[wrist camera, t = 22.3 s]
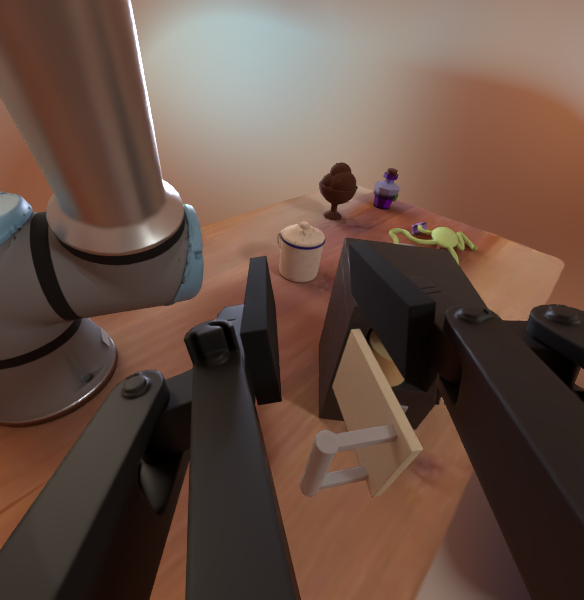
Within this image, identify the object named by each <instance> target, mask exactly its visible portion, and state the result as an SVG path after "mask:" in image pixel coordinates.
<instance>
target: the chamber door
mask: <svg viewBox="0 0 584 600" xmlns="http://www.w3.org/2000/svg"><path fill="white" fill-rule="evenodd" d="M332 388H333V390H334V393H335V396H336V399H337V401H338V404H339V407H340V410H341V413H342V415H343V418H344V421H345V424H346V427H347V429H348V432H345V433H339V434H334V433H333V432H331V431H329V430H323V431H320V432H319V433H318V434H317V436H316V438H315V441H314V444H313V447H312V450H311V453H310V456H309V459H308V462H307V465H306V468H305V471H304V474H303V477H302V480H301V483H300V488H301V491H302V493H303V494H304V495H306V496H308V497H313V496H315V495H316V494H317V492H318V490H321V489H326V488H331V487H335V486H340V485H344V484H349V483H353V482H358V481H363V480H366V482H367V485H368V488H369V491H370V493H371V496H372V498H374V497H378V496H381V495H382V494H383V493H384V492H385V491H386V490H387V488H388V487H389V486H390V485H391V484H392V483H393V482H394V481H395V480H396V479H397V477H398V476H399V475H400V474H401V473H402V472H403V471H404V470H405V469H406V468H407V466H408V465H409V464H410V463H411V462H412V461H413V460H414V459H415V458H416V457H417V456H418V454H419V453H420V452H421V451H422V450H423V448H422V446H421V444H420V442H419V440H418V438H417V436H416V434H415V432H414V430H413V429H412V427H411V425H410V423H409V421H408V419H407V417H406V415H405V413H404V412H403V410H402V408H401V406H400V404H399V402H398V400H397V398H396V396H395V395H394V393H393V391H392V389H391V387H390V385H389V383H388V381H387V379H386V377H385V376H384V374H383V372H382V370H381V368H380V366H379V364H378V362H377V360H376V359H375V357H374V355H373V353H372V351H371V349H370V347H369V345H368V343H367V342H366V340H365V338H364V336H363V334H362V332H361V330H360V329H352V330H351V332H350V335H349V338H348V341H347V344H346V347H345V350H344V353H343V356H342V359H341V362H340V365H339V368H338V371H337V374H336V377H335V380H334V383H333V386H332ZM351 449H355V452H356V454H357V457H358V460H359V463H360V466H359V467H354V468H349V469H345V470H340V471H335V472H330V473H327V471H328V469H329V467H330V465H331V463H332V461H333V458H334V456H335V454H336V452H341V451H346V450H351Z"/></svg>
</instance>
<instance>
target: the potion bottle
mask: <svg viewBox="0 0 584 600" xmlns="http://www.w3.org/2000/svg"><path fill="white" fill-rule="evenodd" d="M397 171H398V170H396V169H391V168H390V169H388V172H385V174H384V177H385V181H378V182H376V183H375V190H374V194H375V200H374V206H375V207H377V208H380V209H389V208H390V207H389V206H390V205H391V203H392V201H395V200H396V199H397V197H398V192H399V190H400V187H399V186H398V185H396V184H394V180H396V179H397V178H398V174H397ZM393 199H394V200H393Z"/></svg>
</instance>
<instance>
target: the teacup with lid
mask: <svg viewBox="0 0 584 600" xmlns="http://www.w3.org/2000/svg"><path fill="white" fill-rule="evenodd" d="M277 241H278V245H279V248H280V250H281V251H280V263H279V271H280V273H281V275H282V276H283V277H285V278H286V279H288V280H291V281H294V282H308V281H311V280H313V279H314V278H315V277H316V276H317V274H318V269H319V264H320V259H321V253H322V248H323V244H324V243H325V236H324V234H323V233H322V232H321V231H320V230H319V229H317V228H315V227H312V226H310V224H309V222H307V221H301V222H300V224H296V225H290V226H288V227H286V228H284V229H283V231H280V232H279V233H278V235H277Z"/></svg>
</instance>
